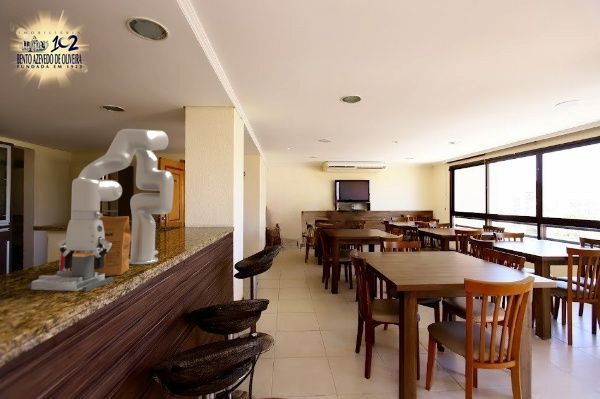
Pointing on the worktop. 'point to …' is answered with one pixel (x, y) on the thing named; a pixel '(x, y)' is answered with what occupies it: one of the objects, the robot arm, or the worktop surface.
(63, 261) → the soda can
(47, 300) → the worktop surface
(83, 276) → the grey block
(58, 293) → the worktop surface
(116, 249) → the coffee package
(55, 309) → the worktop surface
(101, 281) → the grey thin bar
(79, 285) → the breaker panel
